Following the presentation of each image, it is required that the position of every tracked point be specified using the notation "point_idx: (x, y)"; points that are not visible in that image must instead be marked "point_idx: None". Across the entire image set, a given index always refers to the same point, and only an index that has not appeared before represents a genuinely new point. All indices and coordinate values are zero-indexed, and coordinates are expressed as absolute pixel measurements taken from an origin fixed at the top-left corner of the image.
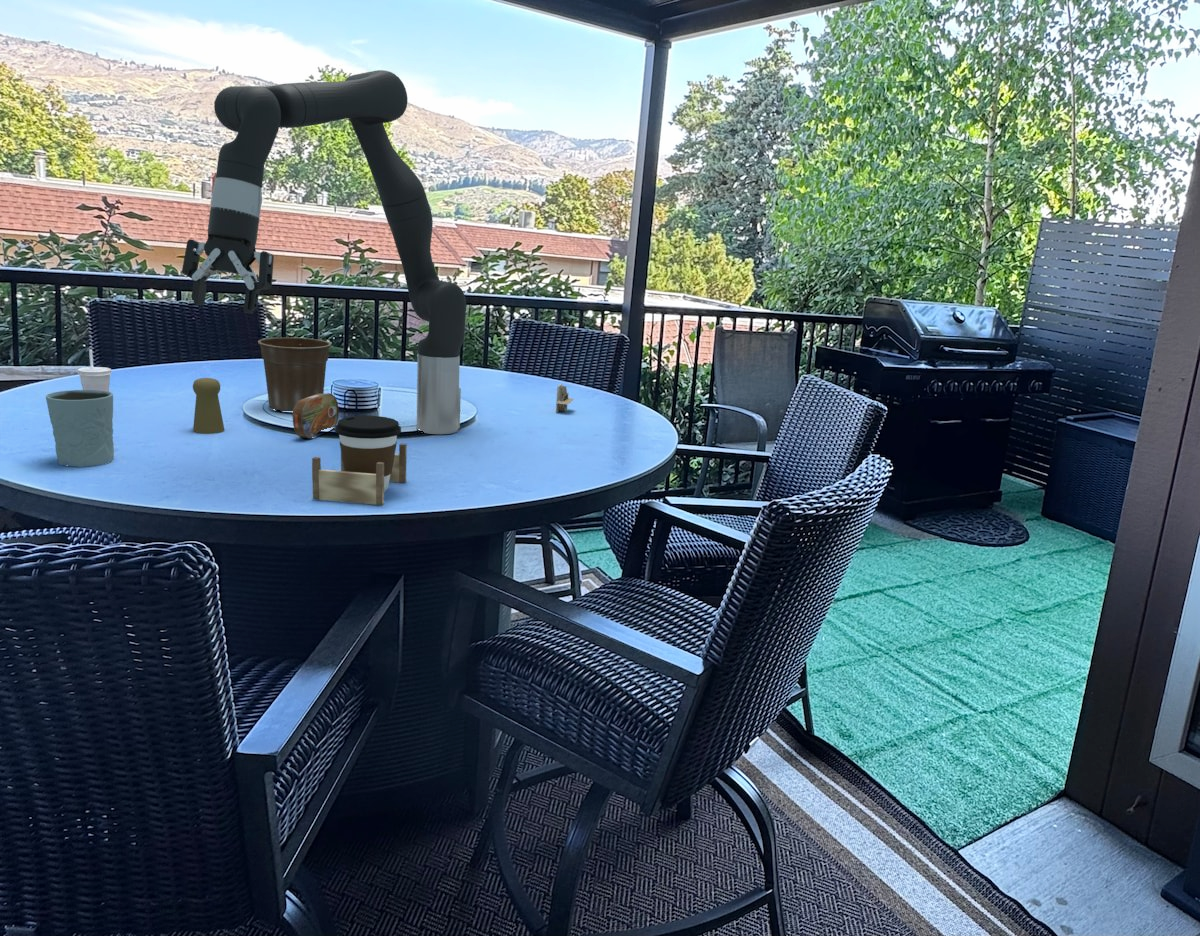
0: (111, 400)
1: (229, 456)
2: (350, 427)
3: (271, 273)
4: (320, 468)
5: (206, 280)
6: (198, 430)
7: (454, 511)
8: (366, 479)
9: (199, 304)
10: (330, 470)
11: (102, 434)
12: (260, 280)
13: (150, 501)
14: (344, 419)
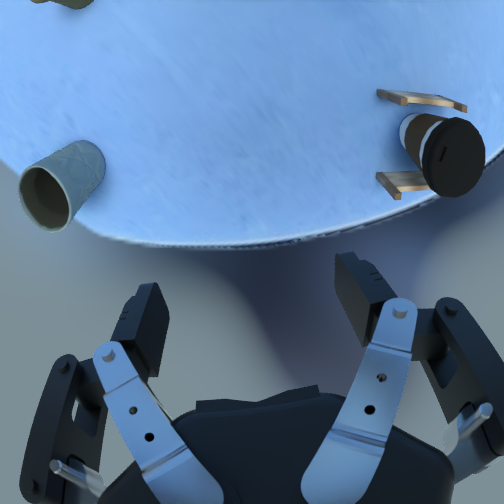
0: (64, 180)
1: (191, 59)
2: (446, 196)
3: (488, 355)
4: (395, 187)
5: (123, 349)
6: (79, 7)
7: None
8: None
9: (166, 306)
10: (405, 188)
11: (90, 179)
12: (431, 367)
13: (239, 233)
14: (436, 160)
